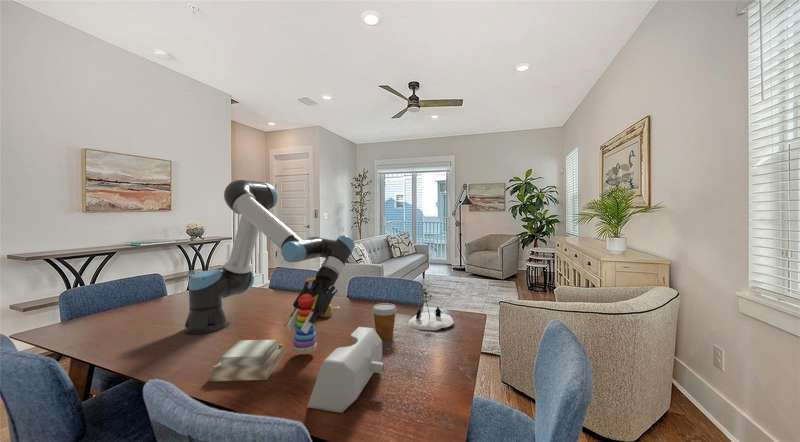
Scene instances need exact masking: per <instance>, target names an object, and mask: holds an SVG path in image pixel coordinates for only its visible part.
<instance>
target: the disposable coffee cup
mask: <svg viewBox="0 0 800 442" xmlns="http://www.w3.org/2000/svg"><path fill="white" fill-rule="evenodd" d="M397 310H398V309H397V308H396V305H395V304H393V303H389V302H388V303H387V302H383V303H376V304H375V305H373V307H372V310H371V311H372V313H373V320H374V330H375V331H376V333H377V334H378V336H379V337H380V339H381V340H382V341H389V340H392V339H393V337H394V336H393V335H394V330H395V329H394V328H395V320H396V312H397Z"/></svg>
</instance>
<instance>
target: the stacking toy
mask: <svg viewBox="0 0 800 442" xmlns="http://www.w3.org/2000/svg"><path fill="white" fill-rule="evenodd" d="M313 303H314V299H313V297H312V296H311V295H310V294H303V295H302V296H300V298H299V300H298V304H299V306H300V307H301V308H300V309H299V310H298V314H299V315H298V316H297V320H298V321H297V322H296V325H295V327H294V328H295V329H294V331H295V333H294V335H293V336H294V338H293V339H292V346H291V349H292V351H293V352H294V353H297V354H308V353H311V352H313V351H315V350H316V349H317V346H318V343H317V342H316V341H317V337H316V334H317V333H316V326H315V322H316V321H315V322H314V323H313V324H312V325H311V327H310V329H309V330H308V332H307V334H305V333H304V332H303V331H302V330H301V328H302V326H303V324H304V323H305V321H306V319H307V317H308V316H309V314H310V312H311V311H312V312H313V310H312V309H313V308H311V307H312V305H313Z"/></svg>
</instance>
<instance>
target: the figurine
mask: <svg viewBox="0 0 800 442" xmlns="http://www.w3.org/2000/svg"><path fill="white" fill-rule="evenodd" d="M421 291H422V293H423V294H424V295H422V296H421V295H420V294H418V295H417V294H415V296H417V297H416V298H419V299H420V301H421V304H422V305H424V304H425V303H426V307H427V311H426V312H422V309H418V311H416V313H415V315H414V316H412V317H411V318H410V319H409V320H408V327H410V328H413V329H416V330H422V331H438V330H441V329H442V328H443V329H444V328H448V327H451V326H452V325H453V324H454V320H453V318H452V316H451V315H449V314H446V313H443V311H442V310H441V309H440V307H439V306H436V309H435V310H434V312H432V311H431V312H430V310H429V305H428V302H430V301H431V300H432V298H433V297H434V296H433V295H432V294H428V292H427V288H425V287H421ZM427 299H428V300H427Z"/></svg>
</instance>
